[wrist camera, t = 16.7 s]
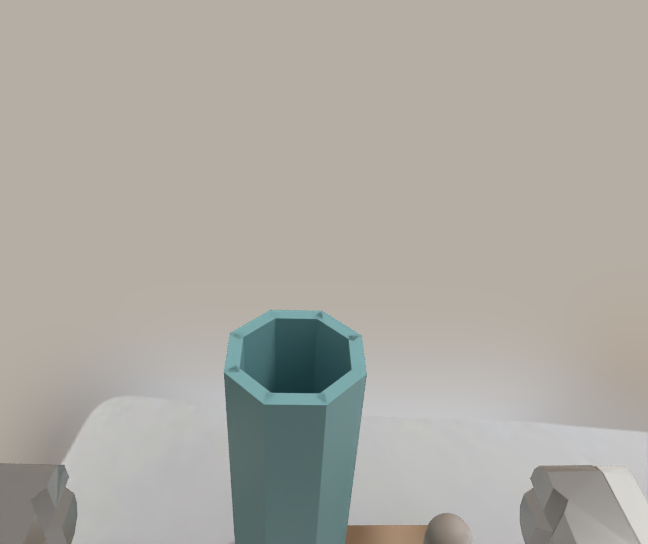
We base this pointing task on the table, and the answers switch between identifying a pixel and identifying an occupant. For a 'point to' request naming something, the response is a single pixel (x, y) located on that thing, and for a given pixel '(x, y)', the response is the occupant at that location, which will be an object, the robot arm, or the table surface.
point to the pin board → (413, 532)
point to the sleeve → (293, 426)
